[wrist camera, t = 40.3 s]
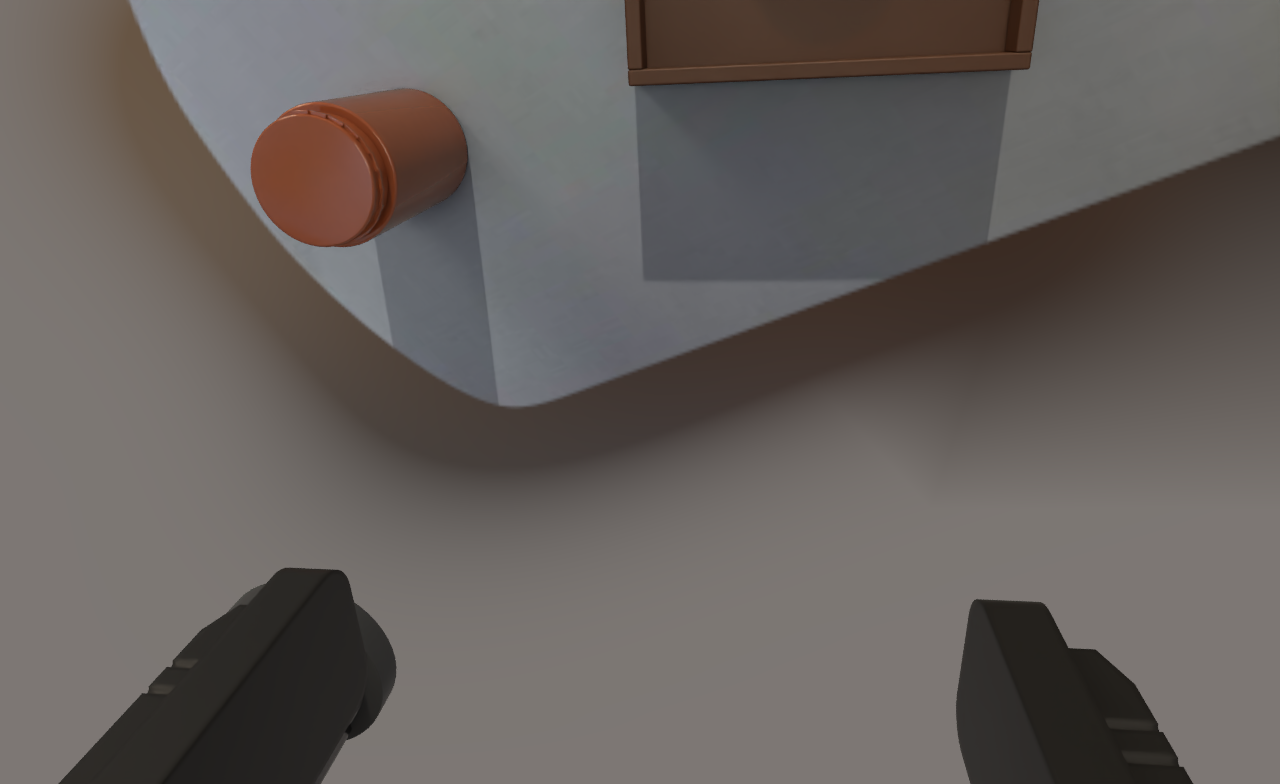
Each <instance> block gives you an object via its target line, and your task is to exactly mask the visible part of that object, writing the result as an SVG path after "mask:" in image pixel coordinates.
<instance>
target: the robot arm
mask: <svg viewBox="0 0 1280 784" xmlns="http://www.w3.org/2000/svg"><path fill="white" fill-rule="evenodd" d="M367 676H368V662H367V656H366V652H365V647H364V643H363V639H362V634H361V630H360V626H359V622H358V617H357V613H356V609H355V605H354V600H353V596H352V592H351V588H350V584H349V581H348V578H347V576H346V575H345V574H344V573H343V572H342V571H340V570H328V569H327V570H326V569H305V568H284V569H281V570H280V571H278V572H277V573H276V574H275V575H274V576H273V577H272V578H271V579H270V580H269V581H268V582H267V583H266V585H265V586H264V587H263V588H262V589H261V590H260V591H259V592H258V594H257V595H256V596H255V597H254V598H253V599H252V600H251V601H250V603H249V604H248V605H241V604H240V605H238V606H237V607H235V608H234V609H232V610H231V611H229V612H228V613H226V614H225V615H223V616H222V617H220V618H219V619H217V620H216V621H214V622H213V623H211V624H210V625H208V626H207V627H205V628H204V629H202V630H201V631H200V632H199V633H198V634H197V635H196V636H195V637H194V638H193V639H192V641H191V642H190V643H189V644H188V645H187V646H186V647H185V648H184V649H183V650H182V652H180V654H179V655H178V656H177V657H176V658H175V659H174V660H173V665H172V667H166V669H165V670H164V671H163V672H162V673H161V674H160V675H159V676H158V677H157V678H156V679H155V681H153V683H152V684H151V685H150V686H149V691H148V693H147V694H143V693H142V695H140V697H139V698H138V699H137V700H136V701H135V702H134V703H133V704H132V705H131V706H130V707H129V708H128V709H127V711H126V712H125V713H124V714H123V715H122V716H121V717H120V718H119V719H118V720H117V721H116V722H115V723H114V725H113V726H112V727H111V728H110V729H109V730H108V731H107V732H106V733H105V734H104V735H103V737H102V738H101V739H100V740H99V741H98V742H97V743H96V744H95V745H94V746H93V747H92V749H91V750H90V751H89V752H88V753H87V754H86V755H85V756H84V757H83V758H82V759H81V760H80V761H79V762H78V764H76V766H75V767H74V768H73V769H72V770H71V771H70V772H69V773H68V774H67V775H66V776H65V777H64V778H63V780H62V781H61V782H60V783H59V784H321V783H322V781H323V779H324V777H325V776H326V774H327V772H328V770H329V769H330V767H331V765H332V763H333V762H334V760H335V758H336V757H337V755H338V753H339V751H340V750H341V748H342V746H343V745H344V743H345V741H346V739H347V738H348V736H349V734H350V732H351V731H352V728H351V724H350V723H351V722H352V721H353V719H354V717H355V716H356V714H357V712H358V710H359V709H360V707H361V704H362V700H363V696H364V693H365V689H366V684H367ZM956 717H957V730H958V737H959V743H960V748H961V752H962V756H963V759H964V763H965V766H966V770H967V773H968V777H969V780H970V783H971V784H1193V783H1192V781H1191V779H1190V778H1189V776H1188V774H1187V772H1186V771H1185V769H1184V767H1179V764H1178V757H1177V756H1176V754H1175V752H1174V750H1173V749H1172V747H1171V745H1170V743H1169V742H1168V740H1167V738H1166V737H1165V735H1164V733H1163V732H1159V730H1158V723H1157V721H1156V720H1155V718H1154V716H1153V715H1152V713H1151V711H1150V709H1149V708H1148V706H1147V704H1146V703H1145V701H1144V699H1143V698H1142V696H1141V694H1140V692H1139V691H1138V689H1137V688H1136V686H1135V684H1134V683H1133V682H1132V681H1130V680H1129V679H1128V678H1127V677H1126V676H1125V675H1124V674H1122V673H1121V672H1120V671H1119V670H1118V669H1117V668H1116V667H1115V666H1113V665H1112V664H1111V663H1110V662H1109V661H1108V660H1107V659H1106V658H1104V657H1103V656H1102V655H1101V654H1100V653H1099V652H1098V651H1096V650H1093V649H1073V648H1068V646H1067V644H1066V642H1065V641H1064V639H1063V637H1062V635H1061V633H1060V631H1059V629H1058V627H1057V625H1056V623H1055V621H1054V619H1053V617H1052V615H1051V613H1050V612H1049V610H1048V608H1047V607H1046V606H1045V605H1044V604H1043V603H1041V602H1025V601H1002V600H978V599H976V600H974V601H973V603H972V605H971V608H970V612H969V618H968V624H967V631H966V638H965V644H964V651H963V658H962V664H961V671H960V678H959V685H958V691H957V701H956Z"/></svg>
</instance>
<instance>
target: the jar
mask: <svg viewBox="0 0 1280 784" xmlns="http://www.w3.org/2000/svg"><path fill="white" fill-rule="evenodd" d="M467 156H468V155H467V145H466V140H465V137H464V133H463V131H462V129H461V126H460V124H459V122H458V121H457V119H456V117H455V116H454V115H453V113H452V112H451V111H450V110H449V109H448V108H447V107H446V106H445V105H444V104H443V103H442V102H441V101H439V100H438V99H436V98H435V97H433V96H432V95H429V94H427V93H425V92H422V91H419V90H415V89H405V88H402V89H394V90H387V91H381V92H374V93H368V94H361V95H355V96H348V97H341V98H335V99H328V100H322V101H315V102H309V103H304V104H300V105H297V106H295V107H293V108H291V109H289V110H287V111H286V112H285V113H283V114H282V115H281V116H280V117H279V118H278V119H277V120H276V121H274V122H273V123H271V124H270V125H269V126H268V127H267V128H266V129H265V130H264V131H263V132H262V134H261V135H260V136H259V138H258V140H257V142H256V144H255V147H254V149H253V153H252V158H251V178H252V184H253V187H254V191H255V194H256V196H257V199H258V201H259V203H260V205H261V207H262V208H263V210H264V211H265V213H266V214H267V216H268V217H269V218H270V219H271V220H272V222H273V223H274V224H275V225H276V226H277V227H278V228H280V229H281V230H282V231H283V232H285V233H286V234H287V235H289V236H291V237H292V238H294V239H296V240H298V241H300V242H303V243H306V244H309V245H313V246H318V247H332V246H334V247H351V246H356V245H360V244H362V243H365V242H367V241H369V240H371V239H373V238H375V237H377V236H379V235H381V234H382V233H384V232H386V231H388V230H390V229H392V228H394V227H395V226H397V225H399V224H401V223H403V222H405V221H407V220H409V219H410V218H412V217H414V216H416V215H418V214H420V213H422V212H423V211H425V210H427V209H429V208H431V207H433V206H435V205H437V204H438V203H440V202H442V201H444V200H445V199H447V198H448V197H449V196H451V195H452V194H453V193H454V192H455V191H456V189H457V188H458V186H459V185H460V183H461V181H462V179H463V177H464V174H465V171H466V166H467Z"/></svg>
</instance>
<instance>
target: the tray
mask: <svg viewBox="0 0 1280 784" xmlns="http://www.w3.org/2000/svg"><path fill="white" fill-rule="evenodd" d="M1038 5H1039V0H625V17H626V38H627V59H628V69H629V71H628V79H629V86H646V85H670V84H693V83H717V82H741V81H764V80H788V79H812V78H835V77H859V76H883V75H906V74H930V73H954V72H977V71H1001V70H1024V69H1029V68H1030V63H1031V56H1032V53H1031V51H1032V48H1033V41H1034V34H1035V27H1036V20H1037V12H1038Z"/></svg>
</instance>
